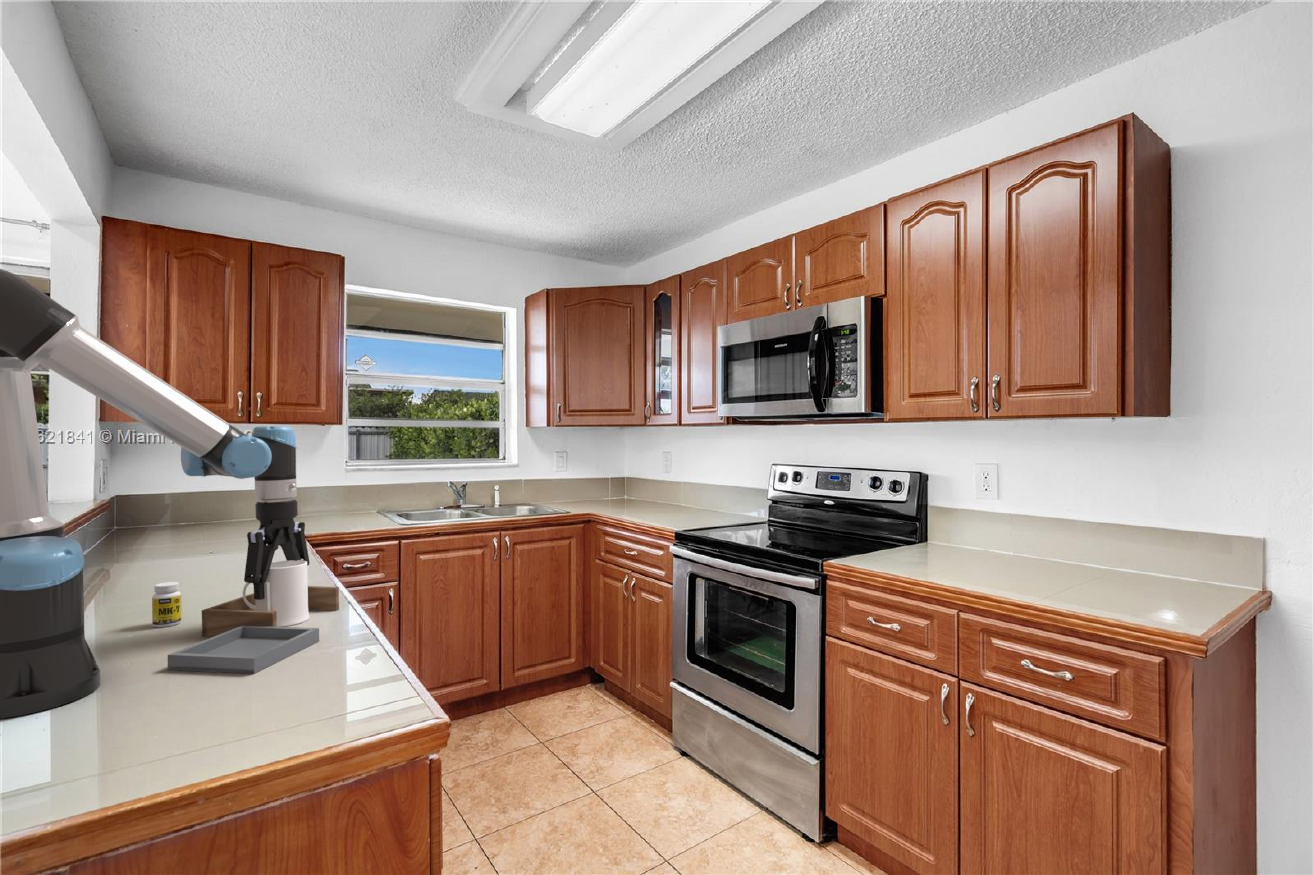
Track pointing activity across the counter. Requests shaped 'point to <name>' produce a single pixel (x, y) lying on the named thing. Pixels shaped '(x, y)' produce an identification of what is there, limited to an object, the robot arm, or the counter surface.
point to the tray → (243, 649)
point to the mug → (287, 592)
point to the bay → (240, 614)
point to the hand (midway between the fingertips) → (279, 607)
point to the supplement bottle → (166, 605)
